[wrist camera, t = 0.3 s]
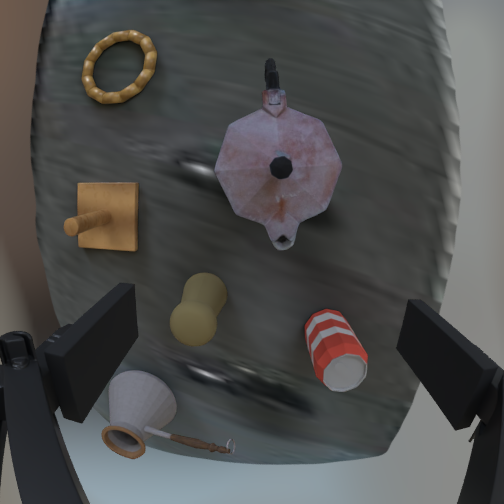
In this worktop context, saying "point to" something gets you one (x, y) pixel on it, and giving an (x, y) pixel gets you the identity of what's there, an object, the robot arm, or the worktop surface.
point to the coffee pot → (143, 415)
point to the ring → (141, 79)
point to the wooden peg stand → (106, 216)
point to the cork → (198, 309)
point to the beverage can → (335, 351)
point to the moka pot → (278, 165)
